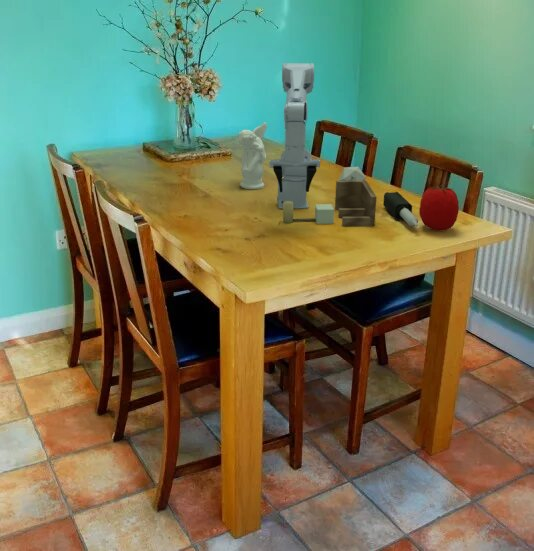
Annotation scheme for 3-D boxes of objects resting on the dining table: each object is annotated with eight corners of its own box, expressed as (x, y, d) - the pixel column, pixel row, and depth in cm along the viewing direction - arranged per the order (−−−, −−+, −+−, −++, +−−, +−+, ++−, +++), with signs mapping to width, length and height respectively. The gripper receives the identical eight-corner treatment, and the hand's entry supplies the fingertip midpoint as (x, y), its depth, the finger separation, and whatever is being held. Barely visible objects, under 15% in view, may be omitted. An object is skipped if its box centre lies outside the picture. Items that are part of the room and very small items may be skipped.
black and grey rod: (383, 207, 222) (407, 234, 199) (384, 192, 220) (409, 217, 197) (398, 206, 222) (424, 233, 200) (399, 191, 220) (426, 216, 198)
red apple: (440, 239, 196) (445, 194, 190) (408, 227, 205) (411, 183, 199) (467, 231, 202) (472, 187, 196) (434, 219, 211) (439, 177, 206)
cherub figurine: (246, 191, 237) (245, 127, 228) (226, 183, 246) (225, 121, 237) (274, 186, 244) (275, 123, 235) (254, 178, 253) (254, 117, 244)
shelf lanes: (342, 226, 205) (344, 197, 202) (334, 208, 221) (336, 180, 217) (374, 225, 206) (376, 196, 202) (364, 207, 221) (366, 180, 218)
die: (333, 191, 241) (340, 173, 233) (342, 174, 245) (349, 156, 237) (354, 200, 240) (362, 184, 232) (363, 183, 244) (371, 166, 236)
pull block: (283, 224, 206) (283, 205, 204) (282, 218, 211) (282, 200, 209) (333, 223, 207) (334, 204, 205) (331, 218, 212) (331, 199, 209)
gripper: (270, 148, 193) (269, 195, 198) (322, 148, 193) (320, 194, 199) (269, 142, 199) (268, 188, 204) (319, 142, 200) (317, 187, 205)
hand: (294, 191), depth 202 cm, fingers open, 7 cm apart
